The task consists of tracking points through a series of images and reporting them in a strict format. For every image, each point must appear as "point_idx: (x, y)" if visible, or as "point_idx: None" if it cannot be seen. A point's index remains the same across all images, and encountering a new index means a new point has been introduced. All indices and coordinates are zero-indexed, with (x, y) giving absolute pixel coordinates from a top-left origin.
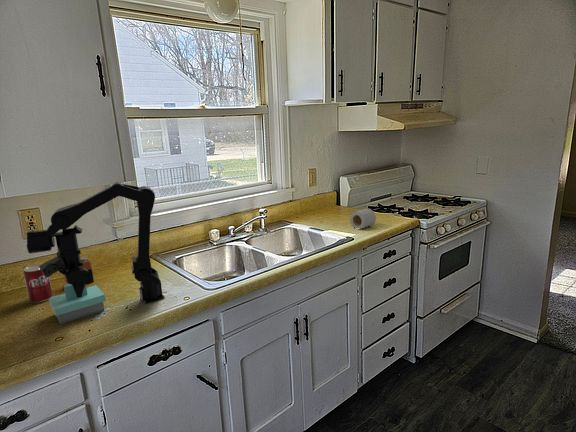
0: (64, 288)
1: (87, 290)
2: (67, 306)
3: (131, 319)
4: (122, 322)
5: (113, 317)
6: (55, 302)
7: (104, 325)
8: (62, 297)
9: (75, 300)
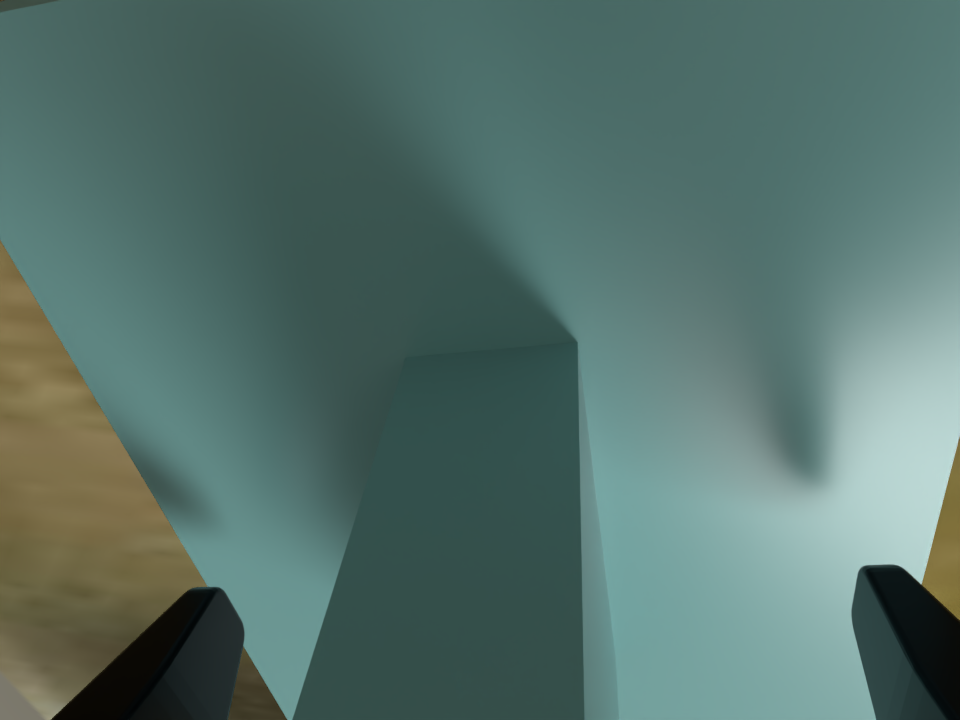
0: (467, 636)
1: (720, 682)
2: (75, 320)
3: (73, 648)
4: (31, 596)
5: (174, 565)
6: (427, 62)
7: (4, 481)
8: (718, 268)
9: (295, 486)
